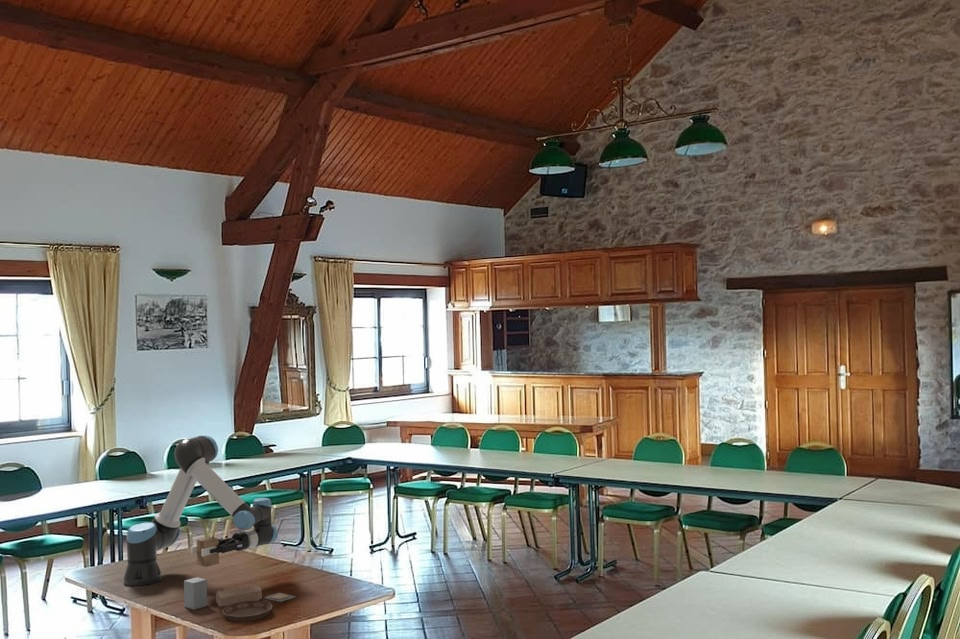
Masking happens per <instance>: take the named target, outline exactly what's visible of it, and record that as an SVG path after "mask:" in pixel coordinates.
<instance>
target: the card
mask: <svg viewBox="0 0 960 639" xmlns="http://www.w3.org/2000/svg"><path fill="white" fill-rule="evenodd" d="M262 597H263V600H267V601H272V602H275V601H276V602H275V603H279V602H281V603H283V601H284V602H287V601H290V600H293V599H297V596H295V595H290V594H288V593H287V594H286V593H282V592H277V593H273V594H270V595H268V596H262ZM286 600H287V601H286Z"/></svg>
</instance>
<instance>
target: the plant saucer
mask: <svg viewBox="0 0 960 639" xmlns="http://www.w3.org/2000/svg"><path fill="white" fill-rule="evenodd" d="M272 608H273V605H272V603H270V602H268V601H263V600H257V601H244V602H239V603H234V604H231V605H228V606H224V608H223V609H222V613H223V614H224V616H226V618H227V619H228V620H230V621H233V622H251V621H258V620H261V619H263V618H265V617H267V616H268V615H269V613H270V612H271V611H272Z"/></svg>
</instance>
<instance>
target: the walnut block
mask: <svg viewBox="0 0 960 639" xmlns="http://www.w3.org/2000/svg"><path fill="white" fill-rule="evenodd" d="M219 539H220V538H217V537H212V536H207V537H202V538H199V539H196V546H197V553H196V565H198V566H201V567H205V568H208V567H211V566H216V565H219V564H220V555H219V554H220V553H217V552H216V553H214V554H210V555H206V556H201V549H205V548H209V547H213V546H216V548H217V545H219Z"/></svg>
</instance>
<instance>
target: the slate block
mask: <svg viewBox="0 0 960 639" xmlns="http://www.w3.org/2000/svg"><path fill="white" fill-rule="evenodd" d="M183 602H184V603H183V604H184V605H183V606H184V608H187V609H190V610H197V609H200V608H201V609H202V608H204V607H207V606H208V579H206V578H201V577H198V576H197V577H193V578H188V579H186V580H184V581H183Z"/></svg>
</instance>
